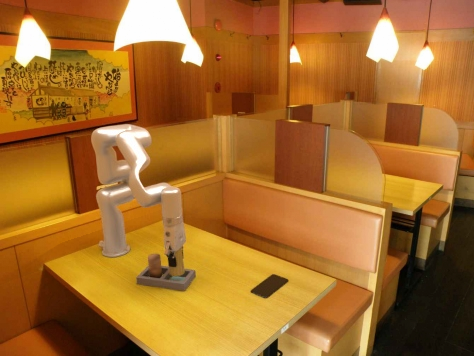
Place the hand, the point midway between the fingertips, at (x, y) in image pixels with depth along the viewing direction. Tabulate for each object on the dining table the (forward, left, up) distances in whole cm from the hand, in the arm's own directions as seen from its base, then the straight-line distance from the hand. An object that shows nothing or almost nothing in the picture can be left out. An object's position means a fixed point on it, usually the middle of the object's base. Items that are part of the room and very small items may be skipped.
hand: (176, 262), depth 150 cm
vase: (0, 0, -5) cm, 5 cm away
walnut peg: (-10, 0, -9) cm, 13 cm away
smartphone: (+36, +6, -9) cm, 38 cm away
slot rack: (-5, 0, -9) cm, 10 cm away
